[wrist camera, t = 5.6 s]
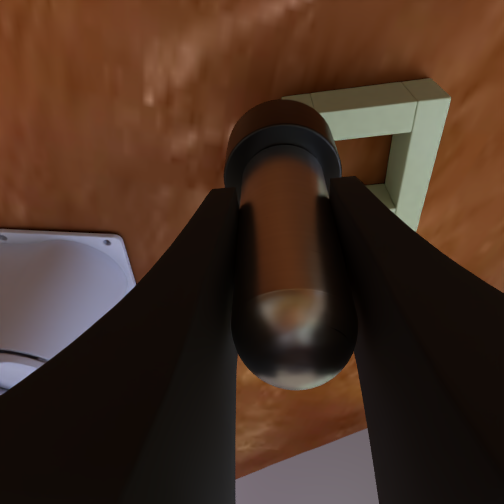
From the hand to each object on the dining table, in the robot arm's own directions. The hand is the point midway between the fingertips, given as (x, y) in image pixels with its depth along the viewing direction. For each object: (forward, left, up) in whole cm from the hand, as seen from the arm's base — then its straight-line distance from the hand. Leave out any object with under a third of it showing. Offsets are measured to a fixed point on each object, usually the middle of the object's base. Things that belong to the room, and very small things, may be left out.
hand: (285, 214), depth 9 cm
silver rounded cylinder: (0, 0, -3) cm, 3 cm away
